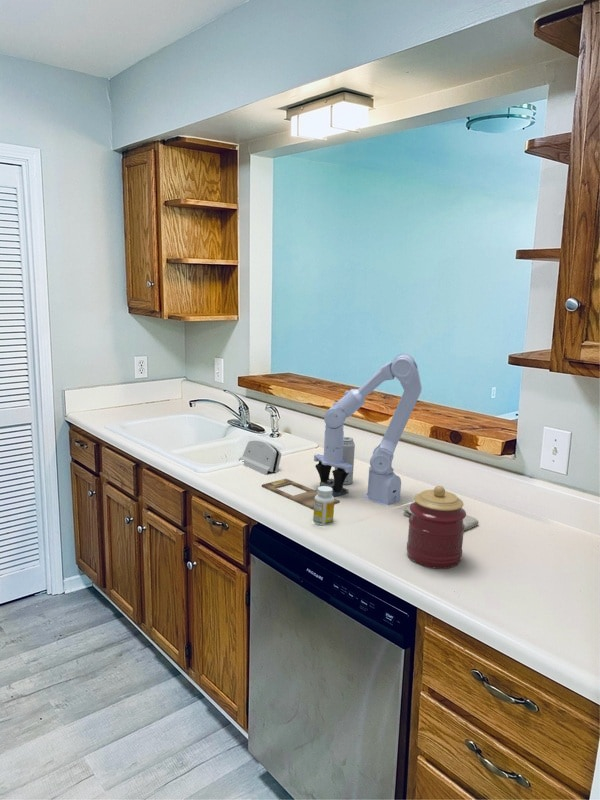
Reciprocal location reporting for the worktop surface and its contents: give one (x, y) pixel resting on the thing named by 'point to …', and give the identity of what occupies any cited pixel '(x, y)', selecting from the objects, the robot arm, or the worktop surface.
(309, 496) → the board
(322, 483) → the metal block with knob
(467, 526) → the washcloth
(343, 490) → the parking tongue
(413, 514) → the canister
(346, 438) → the energy drink can
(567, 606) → the worktop surface
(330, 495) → the supplement bottle
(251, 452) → the hinge
